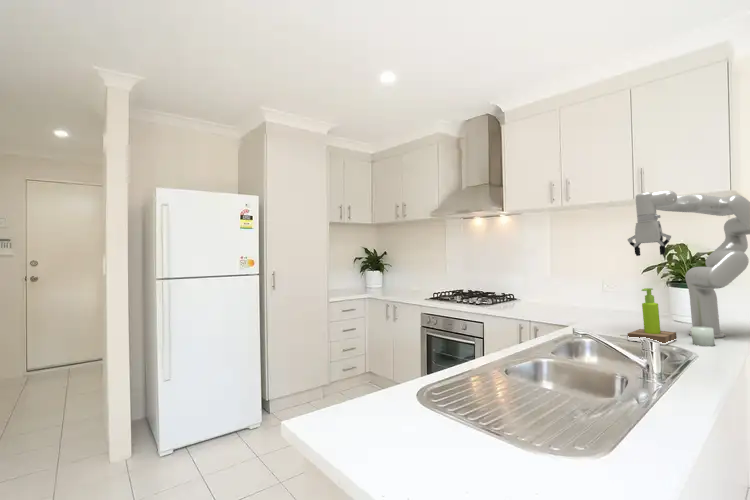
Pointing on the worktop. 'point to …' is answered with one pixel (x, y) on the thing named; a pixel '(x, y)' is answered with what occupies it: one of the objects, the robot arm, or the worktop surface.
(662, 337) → the walnut plinth
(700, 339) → the pale green rounded block
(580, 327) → the worktop surface
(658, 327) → the soap dispenser
